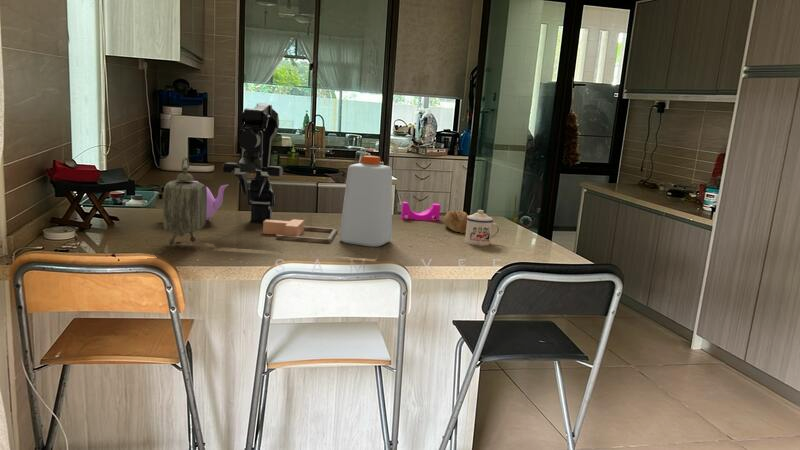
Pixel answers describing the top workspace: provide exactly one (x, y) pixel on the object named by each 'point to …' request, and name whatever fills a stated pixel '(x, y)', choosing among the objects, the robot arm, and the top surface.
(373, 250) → the top surface
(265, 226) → the t puck
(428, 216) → the toy block
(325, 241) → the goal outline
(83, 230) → the top surface
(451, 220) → the bread roll
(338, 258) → the top surface
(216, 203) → the teapot
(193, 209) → the tabletop clock
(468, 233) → the teacup with lid
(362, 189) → the plastic bottle
